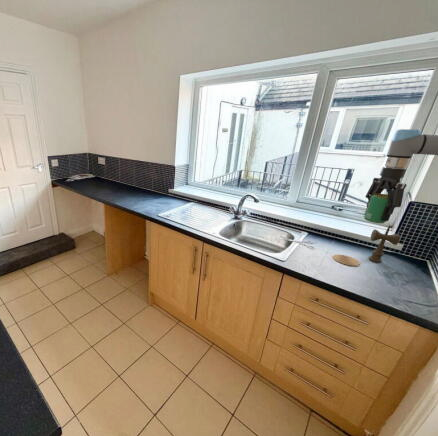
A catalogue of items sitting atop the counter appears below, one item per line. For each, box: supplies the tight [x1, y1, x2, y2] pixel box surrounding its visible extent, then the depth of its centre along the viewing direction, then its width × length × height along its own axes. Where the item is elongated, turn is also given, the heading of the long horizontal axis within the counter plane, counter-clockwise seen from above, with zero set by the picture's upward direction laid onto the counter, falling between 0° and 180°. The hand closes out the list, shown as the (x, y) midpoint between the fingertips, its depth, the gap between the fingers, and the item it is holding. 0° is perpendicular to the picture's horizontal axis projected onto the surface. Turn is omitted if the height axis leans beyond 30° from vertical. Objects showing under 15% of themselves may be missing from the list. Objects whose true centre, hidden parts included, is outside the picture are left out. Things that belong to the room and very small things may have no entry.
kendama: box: [368, 225, 401, 264], centre depth 121 cm, size 6×10×20 cm, turn 58°
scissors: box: [279, 235, 318, 250], centre depth 144 cm, size 11×1×20 cm
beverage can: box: [363, 193, 388, 225], centre depth 110 cm, size 8×8×12 cm
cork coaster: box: [332, 254, 360, 267], centre depth 125 cm, size 11×11×1 cm
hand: (375, 217), depth 112 cm, fingers closed on beverage can, 8 cm apart
